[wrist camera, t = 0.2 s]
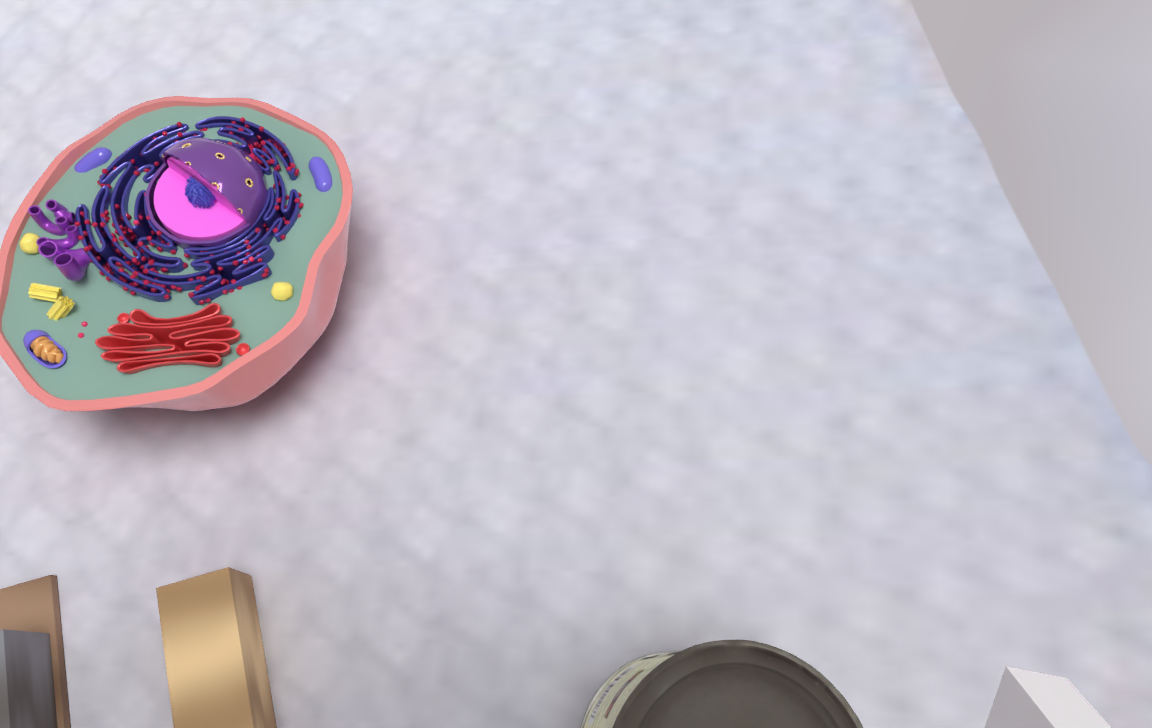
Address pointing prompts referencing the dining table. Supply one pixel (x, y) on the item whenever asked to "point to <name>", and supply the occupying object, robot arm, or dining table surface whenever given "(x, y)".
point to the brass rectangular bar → (215, 652)
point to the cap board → (32, 657)
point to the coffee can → (719, 691)
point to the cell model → (175, 258)
